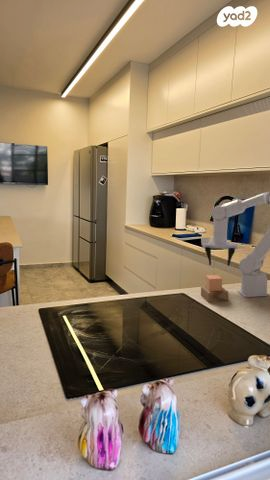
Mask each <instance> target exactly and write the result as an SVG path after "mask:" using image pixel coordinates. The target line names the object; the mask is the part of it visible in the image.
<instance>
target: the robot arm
mask: <svg viewBox="0 0 270 480" xmlns="http://www.w3.org/2000/svg"><path fill="white" fill-rule="evenodd" d="M221 204H222V205H216V206H214V207H213V208H212V209H211V212H210V213H211V217H212V219H213V224H212V225H213V231H212V233H213V234H212V236H213V237H212V242H206V243H205V242H204V243H203V242H202V249H203V250H204V251H205V253H206V255H207V259H208V264H209V266H211V265H212V261H211V260H212V258H211V257H212V256H211V255H212V249H218V250H219V249H222V250H223V249H224V250H225V249H226V250H227V264H226V265H227V266H228V267H230V265H231V260H232V258H233V255H234V254H235V251H236V250H238V247H239V245H238V244H237V243H228V221H229V220H228V219H229V218H231V217H234V216H237V215H239V214H242V213H244V212H245V210H246V209H248V208H250V207H254V206H258V205H262V204H265V205H270V191H266V192H262V193H260V194H257V195H254V196H252V197H250V198H248V199H244V200H242V199H240V198H233V199H232V201H230V202H224V203H221ZM261 237H262V238H261V239H260V240H259V241H258V243H257V245H256V246H255V247H254V249H253V250H252V251H250V253H248V254H247V255H246V257H245V258H242V259H241V260H240V261H239V264H238V265H239V266H238V267H239V270H240V272H241V282H240V283H241V288H240V289H237V291H238V292H237V293H239V294H241V296H243V297H244V298H250V297H253V298H254V297H256V298H257V297H268V295H269V294H268V277H267V276H268V275H267V274H266V273H265V272H262V271H261V269H262V267H263V266H264V261H265V259H266V258H267V255H268V253H269V252H270V227H269V228H268V229H267V230H266V232H265V233H264V235H263V236H261Z"/></svg>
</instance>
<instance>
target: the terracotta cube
mask: <svg viewBox="0 0 270 480" xmlns="http://www.w3.org/2000/svg"><path fill="white" fill-rule="evenodd" d="M205 286H206V288H207V289H208V291H222V287H223V278H222V277H221V276H220V275H219V274H211V275H210V274H206V275H205Z"/></svg>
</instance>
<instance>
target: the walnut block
mask: <svg viewBox="0 0 270 480" xmlns="http://www.w3.org/2000/svg"><path fill="white" fill-rule="evenodd" d="M200 296H201V298H203V299H204V300H205V301H206V302H207V303H218V302H228V301H229V291H228V290H227V289H226V288H224V287H223V286H222V291H208V289H207V288H206V285H205V286H200Z"/></svg>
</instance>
